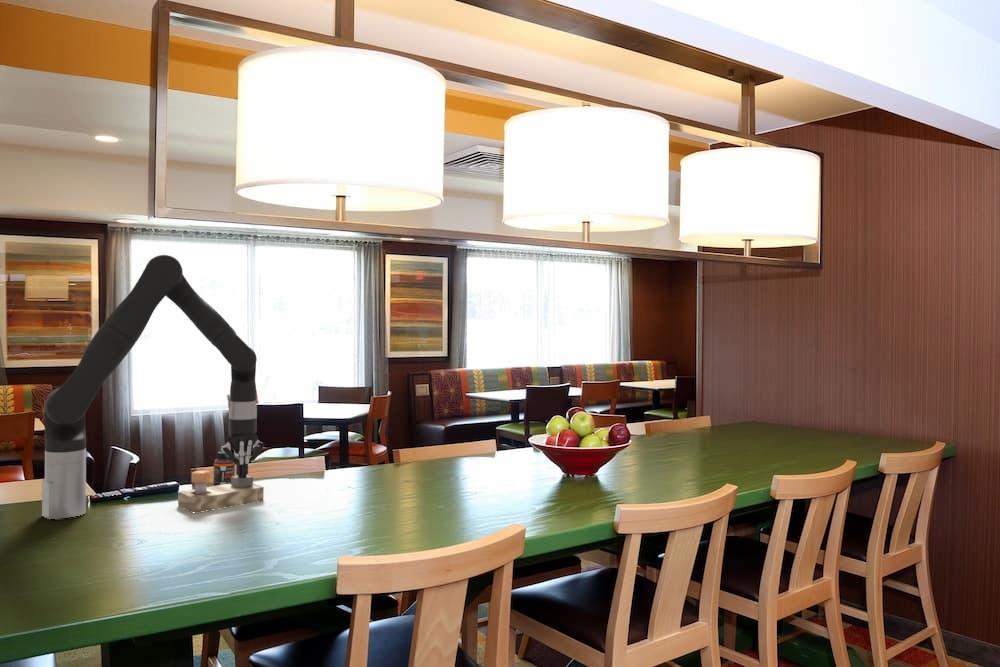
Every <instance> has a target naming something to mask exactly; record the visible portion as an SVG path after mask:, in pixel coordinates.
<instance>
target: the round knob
mask: <svg viewBox="0 0 1000 667" xmlns="http://www.w3.org/2000/svg"><path fill="white" fill-rule="evenodd" d="M210 481H211V471H209V470H195V471H192V472H191V483H192V484H193V483H194V489H195V495H196V496H197V495H203V494H207V487H208V486H207V485H208V482H210Z"/></svg>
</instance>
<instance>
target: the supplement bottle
mask: <svg viewBox="0 0 1000 667" xmlns="http://www.w3.org/2000/svg"><path fill="white" fill-rule="evenodd" d="M231 453H232V454H233V452H232V451H231ZM235 468H236V463H233V462H230V461H229V459H228V458H227V457H226V456H225V455H224V453H223V452H222V451H221V450H220V451H218V452H217V458H215V459H214V462H213V486H217V485H223V484H230V483H231V477H232V476H236V475H235V473H236V469H235Z"/></svg>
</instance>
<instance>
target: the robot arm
mask: <svg viewBox="0 0 1000 667" xmlns="http://www.w3.org/2000/svg"><path fill="white" fill-rule="evenodd" d="M165 297H166V298H167V299H169V300H170V301H171V302H173V304H175V305H176V306H177V307H178V308H179V309H180V310H181V312H183V314H184V315H185V316H186V317H187V318H188V319H189V321H191V322H192V324H193V325H194V326H195V327H196V329H198V331H199V332H200V333H201V334H202V335H203V336H204V337H205V338H206V340H208V341H209V342H210V343H211V345H212V346H214V347H215V348H216V349H217V350H218V351H219V352H220V354H221V355H222V356H223V358H225V360H226V362H228V364H229V365H230V376H231V382H230V387H229V388H230V389H229V391H230V392H229V407H228V437H227V442H226V443H225V444H224V445H221V446H220V447H219V450H220V451H222V452H223V453H224V455H225V456H226V457H227V458H228V459H229V461H230V462H233V463H235V468H236V469H235V473H236V476H238V477H241V478H242V477H246V475H249V474H248V473H249V463H250V462H254V461H255V460H256V458H257V457H258V455H259V454H260V452H261V451H262V450H263V448H264V447H265V442H262V441H260V440H259V439H258V435H257V430H258V429H257V428H258V427H257V426H258V423H257V422H258V421H257V420H258V419H257V418H258V417H257V416H258V407H257V406H258V405H257V385H256V384H257V383H256V371H257V360H258V359H257V354H256V352H255V350H254V349H253V348H252V347H250V346H249V345H248V344H247V343H246V342H245V341H243V339H242V338H240V336H239V335H238V334H237V332H236V331H235V330H234V329H233V327H232V326H231V325H230V324H229V323H228V321H227V320H226V319H225V318H224V317H223V316H222V315H221V314H220V313H219V312H218V311H217V310H216V309H215V308H213V307H212V306H211V305H210V304H209V303H208V302H207V301H205V299H204V298H203V297H201V296H200V295H199V294H198V293H197V291H196V290H194V288H193V287H192V286H191V284H190V283H189V281H188V280H187V279H186V277H185V276H184V274H183V268H182V265H181V263H180V262H179V260H178V259H177V258H175V257H174V256H173V255H169V254H160V255H156V256H153V258H151V259H150V260H149V261H148V262H147V264H146V266H145V267H144V269H143V271H142V272H141V275H140V277H138V280H137V281H136V283H135V285H134V286H133V288H132V290H131V291H130V293H129V294H128V295H126V297H125V298H124V299H123V300H122V301H121V302H120V303H119V304H118V305H117V307H116V308H115V309H113V311H112V312H111V313H110V315H109V316H108V317H107V319H106V320H105V321H104V322H103V323H102V325H101V326H100V327H99V329H98V330H97V331H96V333H95V334H94V336H93V337H92V339H91V340H90V342H89V344H88V346H87V347H86V349H85V351H84V353H83V354H82V357H81V359H80V361H79V363H78V365H77V366H76V368H75V369H74V371H73V372H72V373H71V375H70V376H69V377H68V378H67V379H66V380H65V381H64V382H63V383H62V384H61V385H60V387H57V388H55V389H53V390H52V391H51V392H50V393H49V394H48V395H47V396H46V398H45V401H44V478H42V481H41V516H42V517H44V518H45V519H46V518H47V519H46V520H48V519H49V520H48V521H51V520H50V519H55V520H61V519H60V518H69V517H74V518H76V517H75V516H79V517H81V516H83V514H84V515H85V514H86V513H87V512H86V508H87V503H86V500H87V498H86V497H87V496H86V493H87V490H86V488H87V487H86V486H87V434H86V433H87V432H86V431H87V430H86V413H87V411H88V409H89V407H90V406H91V403H92V402H93V400H94V398H95V396H96V395H97V393H98V392H99V390H100V388H101V387H102V385H103V384H104V383H105V381H106V380H107V379H108V378H109V377H110V376H111V374H113V373H114V371H115V370H116V369H117V367H118V366H120V364H121V363H122V361H123V360H124V359H125V358H126V356H127V355H128V354H129V353H130V351H132V348H133V347H134V346H135V345H136V343H137V342H138V340H139V339H140V337H141V336H142V334H143V332H144V330H145V329H146V328H147V325H148V324H149V322H150V321H149V320H150V319H151V317H152V314H153V313H154V311H155V310H156V308H157V307H158V305H159V304H161V301H162V300H164V298H165ZM231 450H233V451H234V452H232V451H231ZM231 452H232V453H231ZM80 515H81V516H80ZM69 519H70V518H69Z"/></svg>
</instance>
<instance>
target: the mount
mask: <svg viewBox="0 0 1000 667" xmlns="http://www.w3.org/2000/svg"><path fill="white" fill-rule="evenodd" d="M264 492H265V491H264V486H262V485H259V484H256V483H254V482H253V485H252V486H249V487H245V488H239V489H238V488H235V487H234V486H232V485H231V483H230V484H223V485H217V486H214V485H213V486H211V485H210V486H207V494H203V495H197V496H196V495H195V488H193V489H188V490H187V489H186V490H180V491H178V493H177V494H178V495H177V496H178V500H177V507H180V508H181V507H182V508H181V509H183V508H185V509H187V510H189V511H188V512H190V511H192V512H200V513H202V512H201V511H206V510H211V511H213V510H212V509H217V510H219V509H218V508H222V509H225V508H224V507H228V508H231V507H230V506H233V507H236V506H235V505H239V506H242V505H241V504H244V505H247V503H249V504H253V503H252V502H255V503H258V502H257V501H260V502H264ZM185 509H184V510H185ZM187 510H186V511H187ZM192 512H191V513H192ZM206 512H207V511H206Z"/></svg>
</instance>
